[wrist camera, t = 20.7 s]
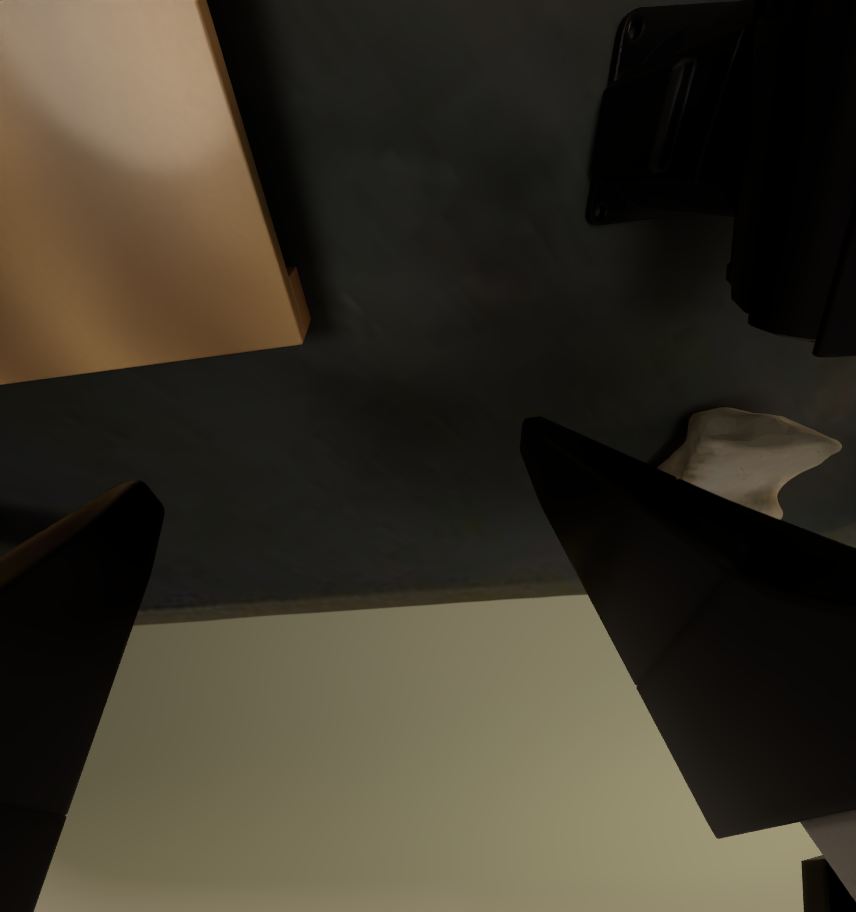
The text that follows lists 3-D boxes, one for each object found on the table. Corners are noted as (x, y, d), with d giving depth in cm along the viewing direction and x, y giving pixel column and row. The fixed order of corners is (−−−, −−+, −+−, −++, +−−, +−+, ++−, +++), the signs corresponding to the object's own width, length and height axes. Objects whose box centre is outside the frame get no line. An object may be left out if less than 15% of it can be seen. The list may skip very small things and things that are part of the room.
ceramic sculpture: (937, 472, 19) (729, 605, 29) (793, 390, 26) (662, 520, 35) (802, 456, 17) (621, 608, 26) (679, 369, 23) (570, 516, 32)
